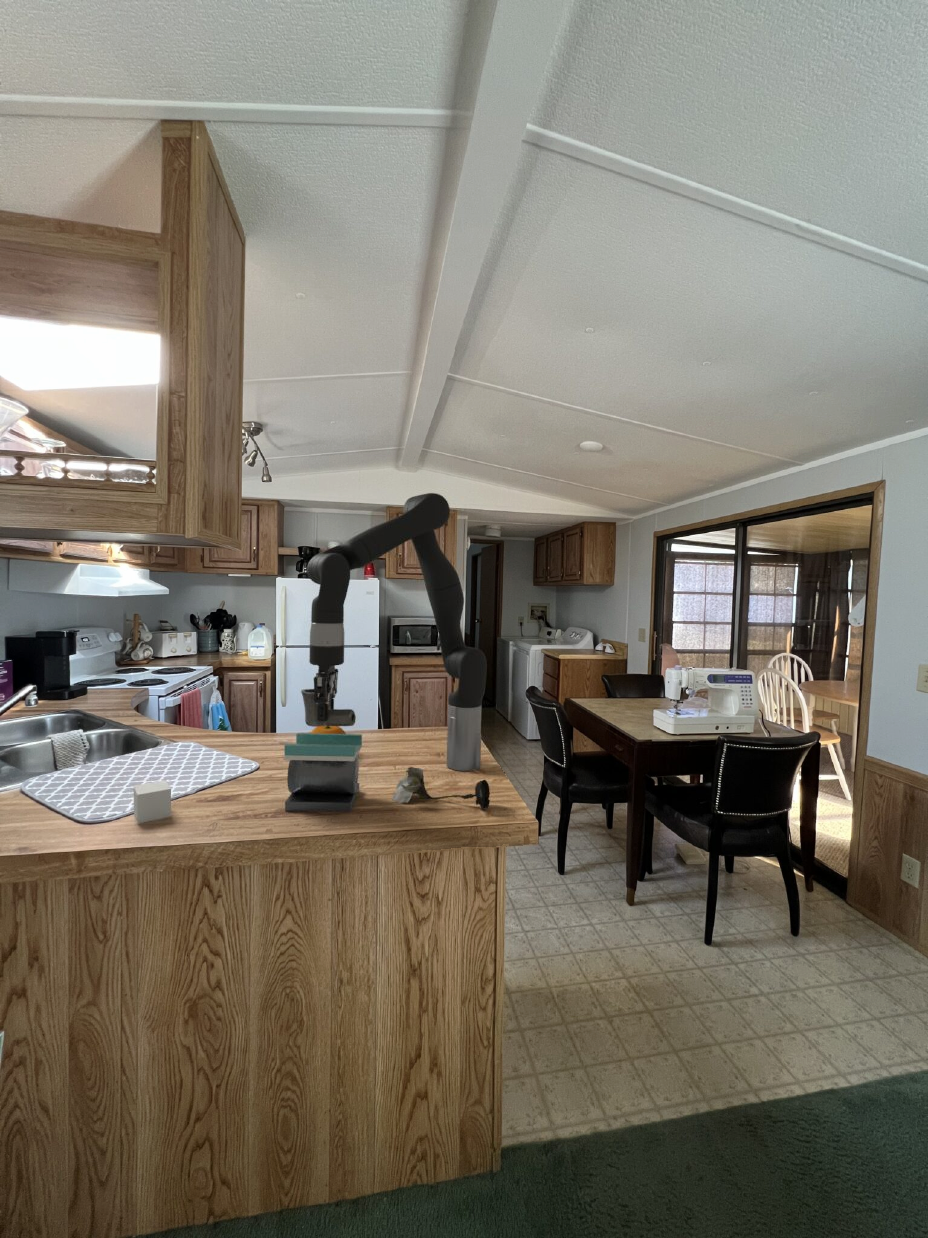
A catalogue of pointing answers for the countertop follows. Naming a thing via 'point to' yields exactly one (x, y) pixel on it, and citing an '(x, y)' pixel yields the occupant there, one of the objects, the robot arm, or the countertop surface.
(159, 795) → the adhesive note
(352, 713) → the pipe
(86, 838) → the countertop surface
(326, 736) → the motor
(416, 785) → the artificial flower
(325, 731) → the fruit
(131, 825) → the countertop surface
